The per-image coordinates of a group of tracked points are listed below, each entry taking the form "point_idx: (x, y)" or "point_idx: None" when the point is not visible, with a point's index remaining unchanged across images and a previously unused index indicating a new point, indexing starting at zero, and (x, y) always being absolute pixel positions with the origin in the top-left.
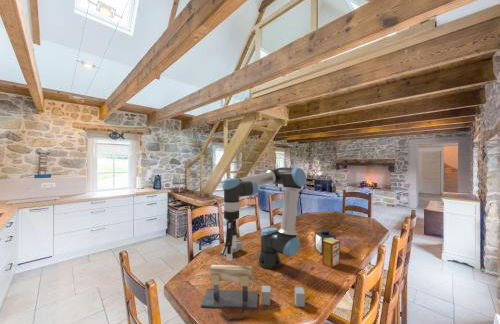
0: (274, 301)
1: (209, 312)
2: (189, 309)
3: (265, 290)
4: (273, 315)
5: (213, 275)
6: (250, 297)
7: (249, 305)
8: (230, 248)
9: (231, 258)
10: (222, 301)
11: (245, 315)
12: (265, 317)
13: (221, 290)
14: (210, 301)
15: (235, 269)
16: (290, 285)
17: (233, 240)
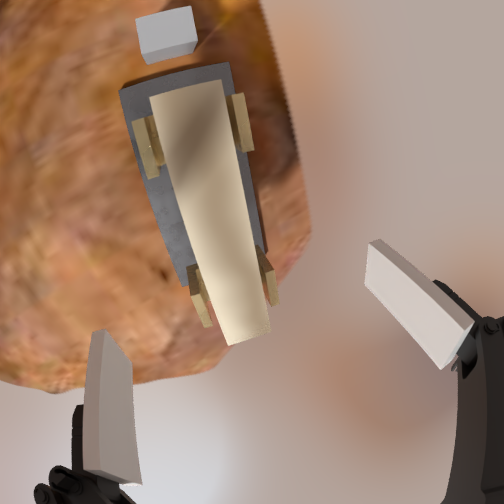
0: None
1: (281, 219)
2: (280, 276)
3: (182, 26)
4: (242, 7)
5: (277, 292)
6: None
7: (225, 92)
8: (472, 311)
9: (392, 253)
10: None
11: (268, 97)
12: (260, 31)
13: (169, 239)
14: None
15: (242, 202)
16: (38, 4)
17: (118, 423)
